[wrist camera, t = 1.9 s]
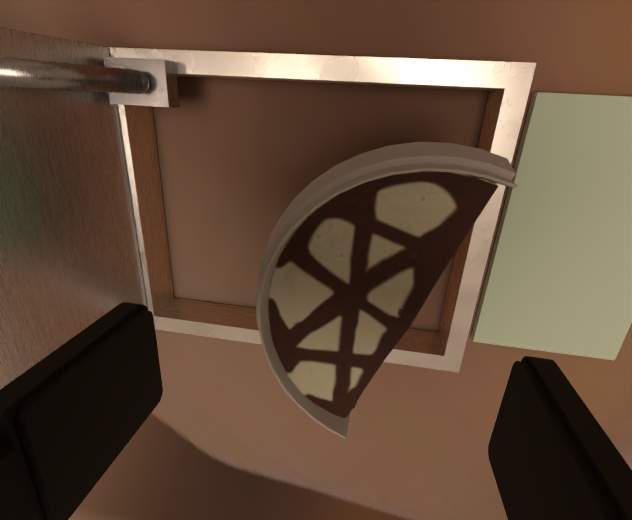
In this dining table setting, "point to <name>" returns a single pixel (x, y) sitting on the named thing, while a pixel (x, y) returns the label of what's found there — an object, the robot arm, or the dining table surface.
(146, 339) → the robot arm
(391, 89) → the dining table surface
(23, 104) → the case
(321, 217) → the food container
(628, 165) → the mat
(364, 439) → the dining table surface
